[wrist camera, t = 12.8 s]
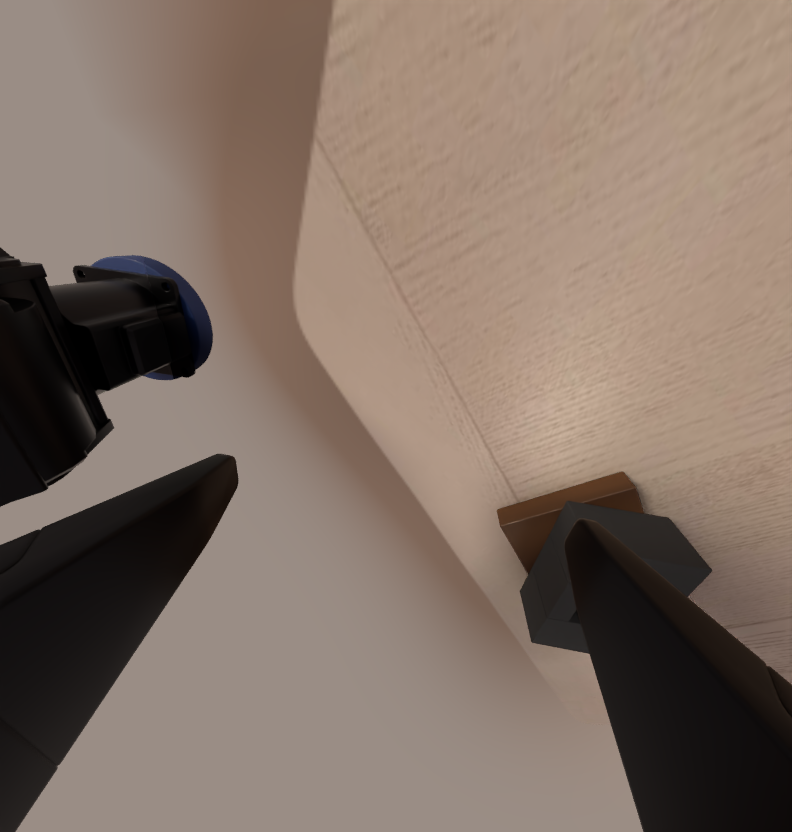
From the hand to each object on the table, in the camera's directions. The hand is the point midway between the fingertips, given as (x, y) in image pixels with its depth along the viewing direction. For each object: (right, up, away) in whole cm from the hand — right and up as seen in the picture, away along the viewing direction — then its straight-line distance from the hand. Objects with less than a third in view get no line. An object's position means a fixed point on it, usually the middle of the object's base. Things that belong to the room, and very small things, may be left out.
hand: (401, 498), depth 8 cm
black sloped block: (+12, -7, +13) cm, 19 cm away
